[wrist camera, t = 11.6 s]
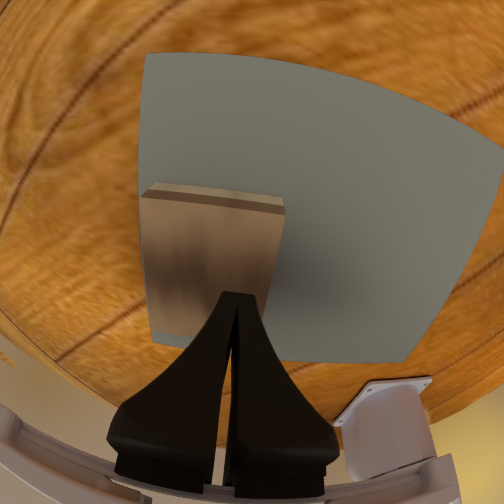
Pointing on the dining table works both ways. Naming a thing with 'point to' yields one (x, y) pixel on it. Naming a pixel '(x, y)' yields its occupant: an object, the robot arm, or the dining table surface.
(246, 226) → the tile
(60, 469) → the robot arm
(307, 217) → the mat
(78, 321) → the dining table surface
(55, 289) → the dining table surface
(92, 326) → the dining table surface
